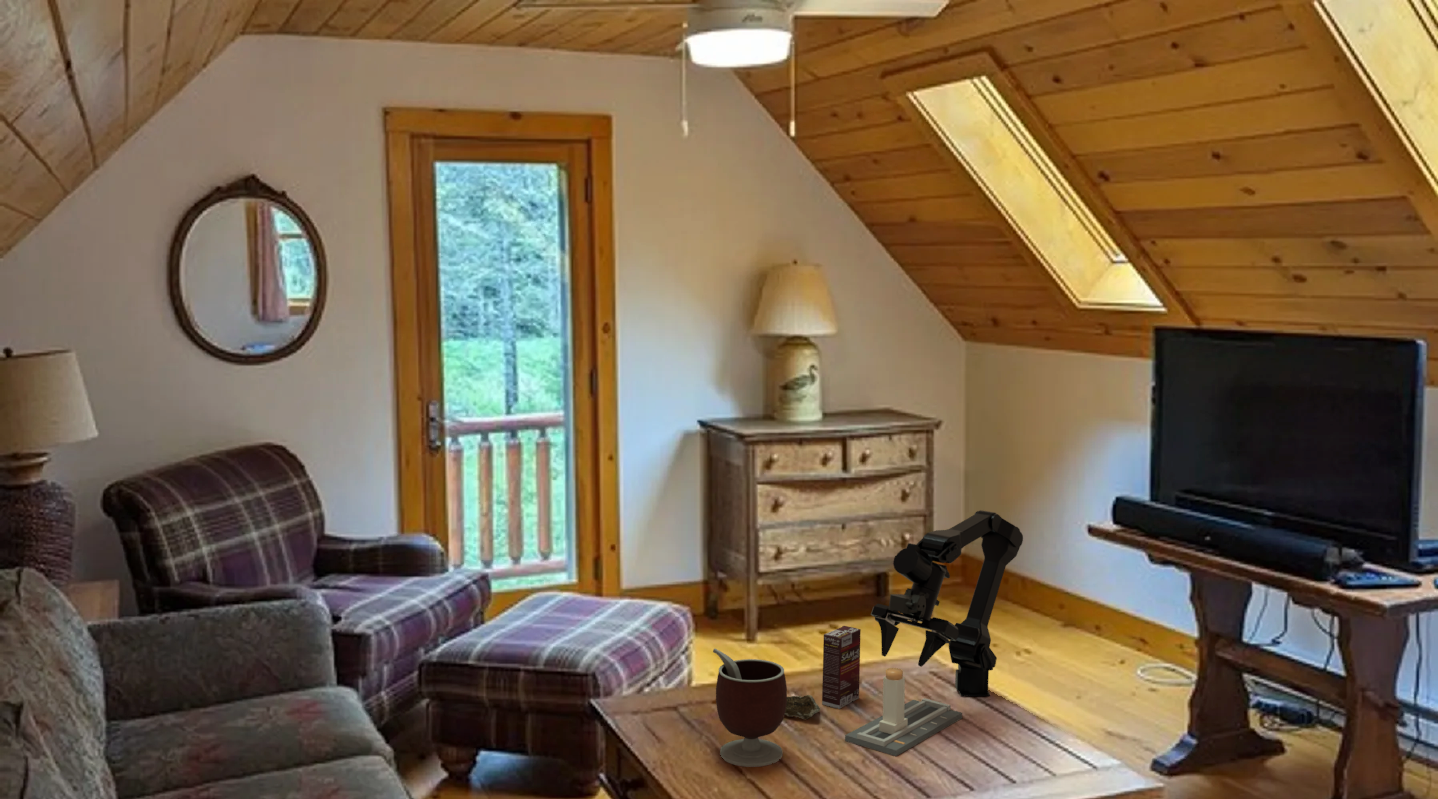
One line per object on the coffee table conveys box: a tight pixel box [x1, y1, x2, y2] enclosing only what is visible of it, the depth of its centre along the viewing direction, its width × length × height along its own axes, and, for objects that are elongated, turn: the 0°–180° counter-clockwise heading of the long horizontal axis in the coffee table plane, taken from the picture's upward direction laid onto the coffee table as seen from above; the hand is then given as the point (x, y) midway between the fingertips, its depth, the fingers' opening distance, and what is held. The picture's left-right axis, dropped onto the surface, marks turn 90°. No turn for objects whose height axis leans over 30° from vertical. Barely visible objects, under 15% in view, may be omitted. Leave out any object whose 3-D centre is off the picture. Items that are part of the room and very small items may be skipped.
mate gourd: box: [712, 648, 788, 768], centre depth 244 cm, size 16×14×20 cm
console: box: [844, 698, 963, 757], centre depth 257 cm, size 26×12×2 cm, turn 140°
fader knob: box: [879, 667, 908, 735], centre depth 253 cm, size 5×4×12 cm
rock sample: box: [784, 694, 821, 720], centre depth 265 cm, size 10×8×9 cm
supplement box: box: [821, 625, 861, 710], centre depth 272 cm, size 9×5×16 cm, turn 143°
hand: (901, 660), depth 258 cm, fingers open, 9 cm apart
